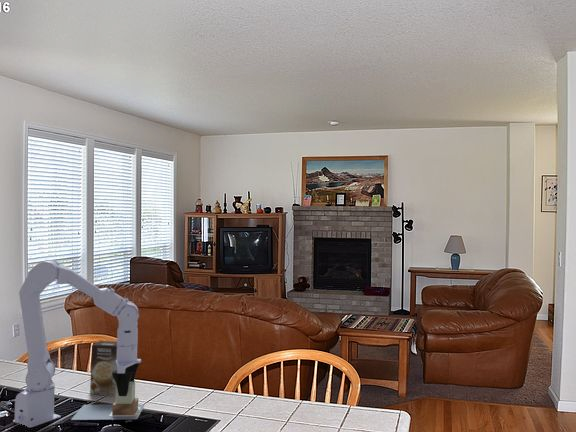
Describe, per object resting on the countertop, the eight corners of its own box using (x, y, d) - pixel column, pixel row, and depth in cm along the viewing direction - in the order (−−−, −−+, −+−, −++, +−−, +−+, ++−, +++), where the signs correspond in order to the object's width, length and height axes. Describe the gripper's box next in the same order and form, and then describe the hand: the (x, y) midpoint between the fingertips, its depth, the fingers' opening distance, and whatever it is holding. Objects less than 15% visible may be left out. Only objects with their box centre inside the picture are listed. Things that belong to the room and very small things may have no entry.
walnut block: (112, 415, 148) (112, 404, 148) (117, 408, 154) (117, 397, 154) (133, 415, 149) (134, 404, 149) (138, 407, 155) (138, 397, 155)
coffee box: (88, 395, 166) (90, 344, 166) (98, 389, 173) (99, 340, 173) (116, 396, 165) (117, 346, 166) (124, 390, 172) (126, 341, 172)
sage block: (115, 403, 149) (115, 386, 149) (119, 398, 153) (119, 381, 154) (131, 403, 149) (131, 386, 149) (134, 398, 154) (135, 381, 154)
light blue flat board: (70, 421, 144) (70, 419, 144) (83, 406, 156) (83, 404, 156) (136, 420, 146) (137, 418, 146) (145, 405, 158) (145, 404, 158)
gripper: (136, 350, 145) (134, 399, 145) (145, 339, 159) (144, 383, 159) (110, 350, 144) (108, 399, 144) (122, 339, 159) (121, 383, 158)
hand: (125, 391), depth 151 cm, fingers open, 7 cm apart
